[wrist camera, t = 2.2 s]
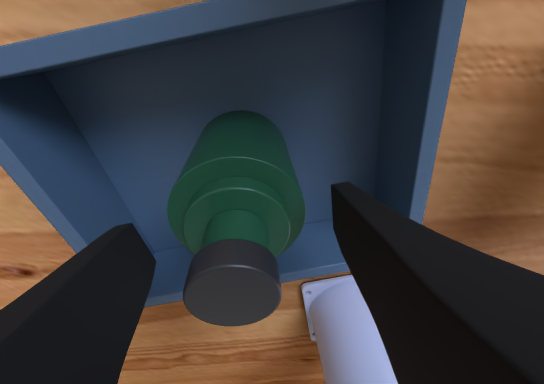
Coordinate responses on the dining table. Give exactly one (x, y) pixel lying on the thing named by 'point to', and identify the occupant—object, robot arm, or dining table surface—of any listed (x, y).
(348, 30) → the tub
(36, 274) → the dining table surface
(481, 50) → the dining table surface
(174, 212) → the bottle
